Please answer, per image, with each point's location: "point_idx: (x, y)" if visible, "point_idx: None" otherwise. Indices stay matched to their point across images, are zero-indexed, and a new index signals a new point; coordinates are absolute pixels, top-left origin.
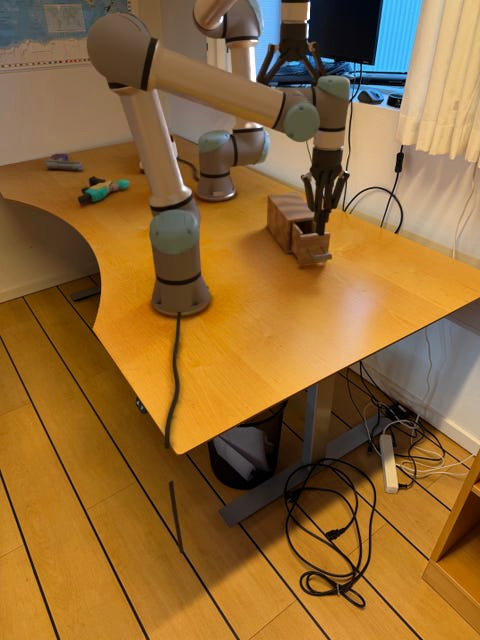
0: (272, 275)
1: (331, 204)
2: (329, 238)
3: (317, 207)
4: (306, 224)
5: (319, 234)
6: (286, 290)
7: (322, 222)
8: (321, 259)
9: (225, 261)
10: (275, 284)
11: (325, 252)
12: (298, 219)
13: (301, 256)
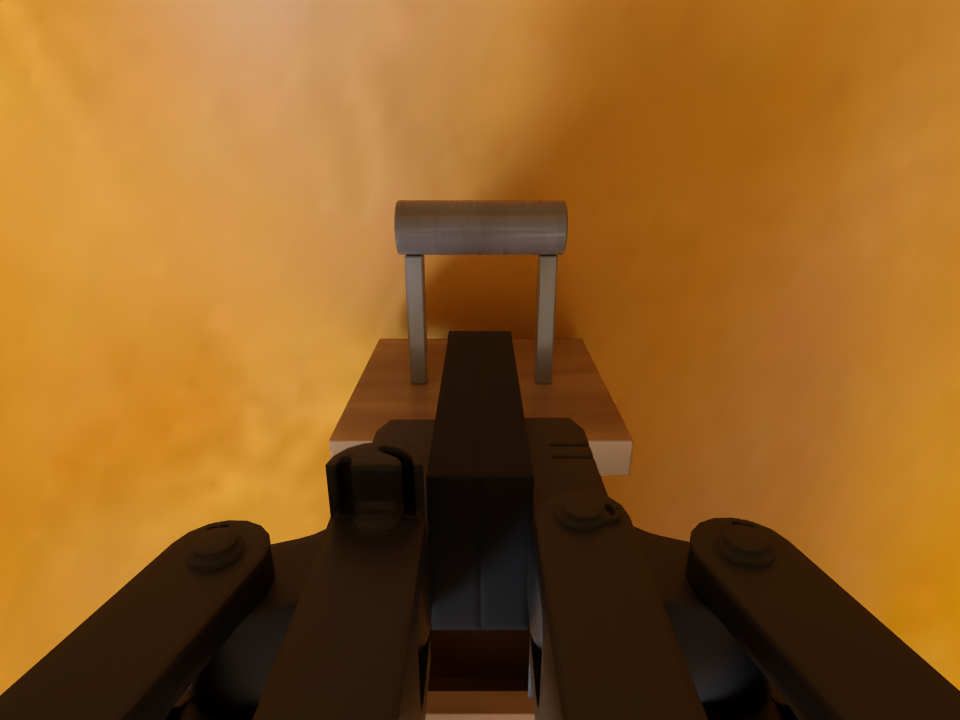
0: (779, 295)
1: (266, 645)
2: (344, 414)
3: (649, 585)
4: None
5: (510, 336)
6: (787, 77)
7: (488, 399)
8: (495, 201)
9: (957, 519)
10: (817, 178)
11: (423, 291)
12: (532, 708)
13: (581, 363)
